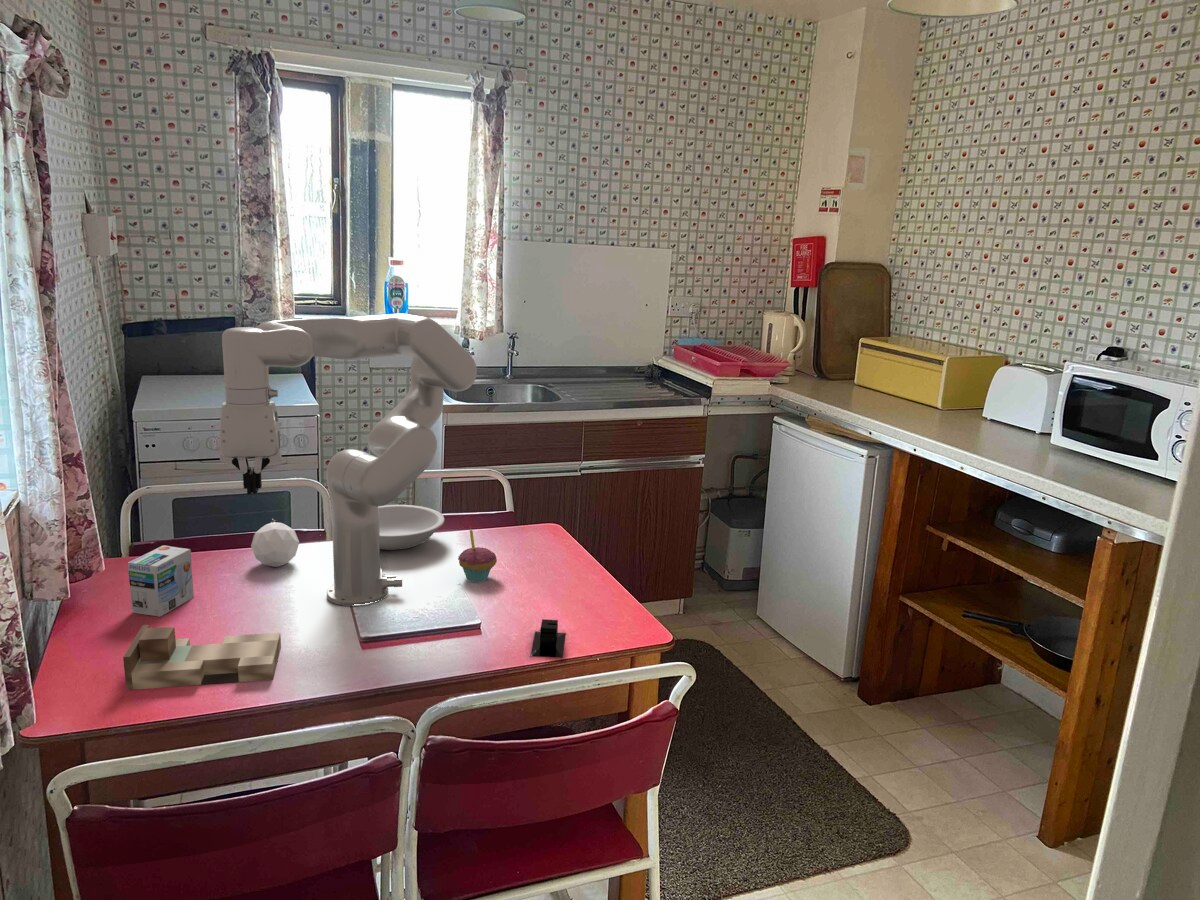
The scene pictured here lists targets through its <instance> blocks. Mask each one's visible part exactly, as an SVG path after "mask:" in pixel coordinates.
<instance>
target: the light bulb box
mask: <svg viewBox="0 0 1200 900" xmlns="http://www.w3.org/2000/svg"><path fill="white" fill-rule="evenodd" d="M127 569H128V581H129V591H130V601H131V602H130V603H131V612H132V613H133V614H139V615H147V616H153V617H158V618H159V617H162V616H164V615H166V614H168V613H170V612H171V611H172V610H175V609H176V608H177V607H180V606H182V605H183V604H184V603H187V602H188V601H190V600H192V599H193V598H194V595H195V594H194V583H193V582H194V581H193V579H194V578H193V568H192V550H191V548H183V547H177V546H170V545H161V546H159V547H157V548H155V549H153V550H151V551H149V552H147V553H145V554H143V555H141V556H139V557H137V558H135V559H132V560H130V561H128V562H127Z"/></svg>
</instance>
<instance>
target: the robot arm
mask: <svg viewBox="0 0 1200 900" xmlns="http://www.w3.org/2000/svg"><path fill="white" fill-rule="evenodd" d="M221 343H222V344H221V346H222V357H223V358H222V360H223V363H222V364H223V376H224V377H223V378H224V395H225V396H224V397H225V401H223V402H222V404H221V410H220V420H219V448H220V457H219V461H220V462H221V463H224V464H229V465H233V466H234V467H235V468H237V469H238V471H240V473H241V474H242V485H243V490H244V489H245V490H246V493H247V495H251V494H253V495H257V494H258V492H259V489H261V488H262V485H263V484H262V483H263V482H262V471H263V470H264V469H265V468H266V467H267V466H268V465H270V464H275V463H277V462H280V461H282V458H283V456H282V453H281V432H280V423H279V416H278V410H277V407H276V403H275V401H273V400H272V401H271V399H273V398H278V397H279V390H278V389H274V388H272V387H271V385H270V377H269V376H270V375H269V373H270V372H269V368H270V367H279V368H298V367H301V366H304V365H305V364H307V363H309V362H310V361H311V359H312V358H313V357H317V358H319V357H320V358H328V359H335V360H344V361H360V360H368V359H375V358H384V357H395V356H408V357H412V360H411V364H410V376H411V377H410V378H411V379H410V386H409V390H408V392H407V394H406V395H405V397H404V398H403V399H402V400H401V401H400V402H399V403H398V404H397V405H396V406H395V407H393V408H392V410H390V411H389V412H388V413H387V414H386V415H385V416H384V417H383V418H382V419H381V420H380V421H378V422H377V423H376V424H375V425H374V426H373V428H372V429H371V430H370V432H369V433H368V437H367V445H368V447H369V450H370V451H371V452H372V453H373V454H372V453H368V452H365V451H362V450H360V449H354V448H353V449H352V448H349V449H343V450H341V451H338V452H337V453H335V454H334V455H333V456H332V457H331V459H330V460H329V462H328V464H327V467H326V471H325V472H326V473H325V474H326V477H325V478H326V485H327V489H328V495H329V497H330V499H329V500H330V508H331V522H332V524H331V525H332V552H333V555H332V556H333V557H332V558H333V584H331V586H330V587H328V588H327V590H326V598H327V600H328V601H329V602H331V603H333V604H335V605H339V606H345V607H353V606H352V605H354V604H365V603H370V602H375V601H378V600H380V601H382V600H384V599H385V598H386V597H387V596H388V594H389V588H402V587H403V577H397V574H390V575H386V574H383V569H382V568H381V549H380V517H379V508H378V506H384V505H390V504H391V503H393V502H394V501H395V500H396V499H397V498H398V497H399V496H400V495H401V494H402V493H403V492H405V491H406V490H407V488H408V487H410V486H411V484H413V483H414V482H415V481H416V479H418V478H419V477H420V476H421V475H422V474H423V472H425V470H426V469H428V467H429V466H430V465H431V463H432V462H433V460H434V458H435V456H436V453H437V450H438V440H437V437H436V435H435V433H434V431H433V430H432V429H431V428H432V427H433V426H434V425H435V424H436V423H437V422H438V421H439V419H440V418H441V415H442V412H443V406H444V390H447V391H452V392H463V391H466V390H468V389H469V388H471V387H472V385H474V383H475V381H476V378H477V375H478V370H477V365H476V364H477V363H476V362H475V359H474V358H473V357H472V355H471V354H470V353H469V352H468V351H467V350H466V349H465V348H464V347H463V346H462V345H461V344H460V343H459V342H458V341H457V340H456V339H455V338H454V337H453V336H452V335H451V334H450V333H449V332H448V331H447V330H446V329H445V328H444V327H443V326H442V325H440V324H439V323H438V322H437V321H435V320H434V319H431V318H430V317H426V316H421V315H420V316H419V315H414V314H409V313H390V314H389V313H388V314H379V315H378V314H377V315H363V316H349V317H344V316H343V317H329V318H328V317H327V318H326V317H325V318H299V319H298V318H297V319H283V320H281V319H280V320H271V321H264V322H262V323H260V324H257V326H255V327H248V326H247V327H246V326H245V327H244V326H243V327H238V326H237V327H231V328H226V329H224V331H223V333H222V335H221ZM249 458H254V459H255V460H254V467H253V469H251V466H250V463H249ZM384 597H385V598H384ZM383 598H384V599H383ZM381 599H382V600H381ZM378 602H379V601H378Z"/></svg>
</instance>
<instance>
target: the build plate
mask: <svg viewBox="0 0 1200 900" xmlns="http://www.w3.org/2000/svg"><path fill="white" fill-rule="evenodd" d="M558 628H559V620H558V619H544V618H542V620H541V623H540V631H536V630H535V631H534V635H533V641H532V646H531V651H530V657H536V658H537V657H539V658H556V659H557V658H558V659H561V658H563V657H564V651H565V643H566V636H567V633H566V632H558V631H559V629H558Z"/></svg>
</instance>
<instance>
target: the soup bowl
mask: <svg viewBox="0 0 1200 900" xmlns="http://www.w3.org/2000/svg"><path fill="white" fill-rule="evenodd" d="M378 508H379V517H380V550H387V551H388V550H390V551H392V550H393V551H395V550H396V551H397V550H404V549H405V550H406V549H409V548H411V549H412V548H414V547H416V546H420V545H421V544H423V543H425V542H426V541H427V540H429V538H431V537H432V536H433V535H434V533H435V532H436V530H437V529H440V527H442V526H443V525H444V523H445V517H444V515H443V513H441V512H439V511H438V510H436V509H432V508H430V507H426V506H421V505H411V504H387V505H384V506H378Z"/></svg>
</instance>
